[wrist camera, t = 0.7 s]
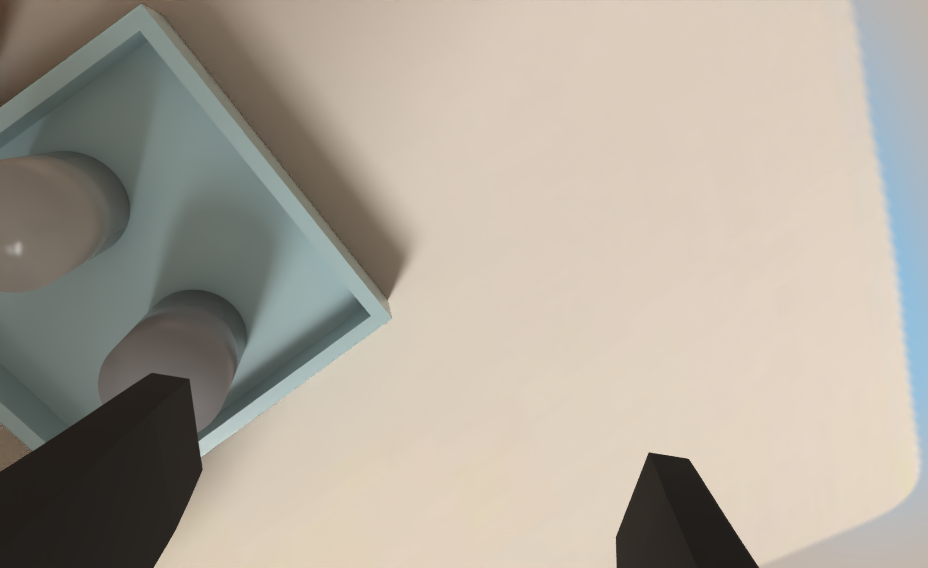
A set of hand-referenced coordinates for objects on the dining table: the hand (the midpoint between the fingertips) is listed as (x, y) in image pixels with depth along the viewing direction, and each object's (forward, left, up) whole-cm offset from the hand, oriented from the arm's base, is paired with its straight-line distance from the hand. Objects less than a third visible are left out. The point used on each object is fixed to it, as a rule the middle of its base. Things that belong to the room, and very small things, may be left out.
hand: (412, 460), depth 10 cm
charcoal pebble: (-8, +1, -17) cm, 19 cm away
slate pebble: (-8, +8, -17) cm, 20 cm away
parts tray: (-8, +4, -18) cm, 20 cm away
